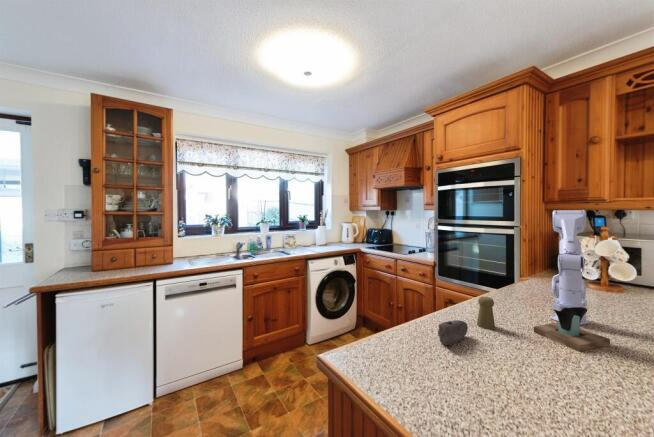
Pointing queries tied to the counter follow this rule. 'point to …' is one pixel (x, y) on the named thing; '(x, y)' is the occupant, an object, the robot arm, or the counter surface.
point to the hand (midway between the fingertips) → (569, 328)
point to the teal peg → (574, 327)
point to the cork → (486, 313)
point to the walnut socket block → (578, 343)
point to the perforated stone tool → (452, 331)
